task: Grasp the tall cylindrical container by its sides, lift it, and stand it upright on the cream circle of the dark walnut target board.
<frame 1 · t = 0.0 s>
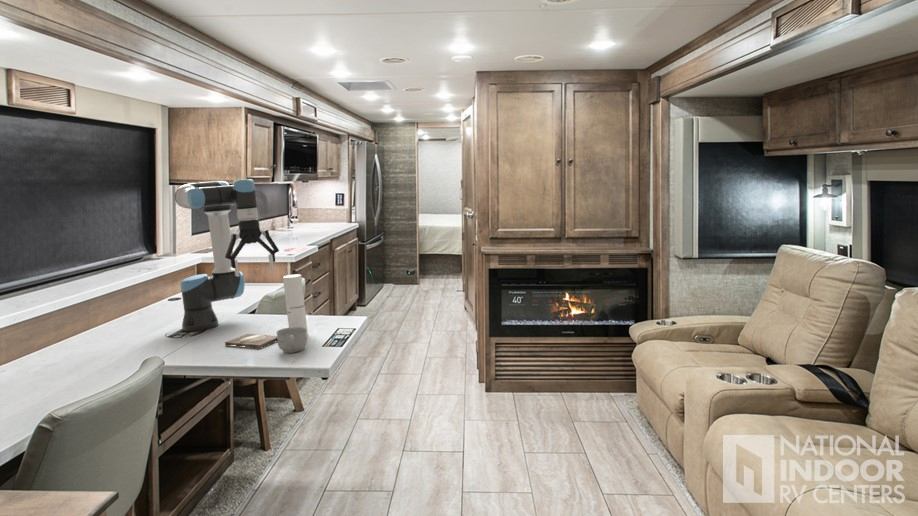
hand: (255, 273, 238), 28 cm above the table, fingers open, 13 cm apart
cylindrical container: (299, 336, 247), on the table
target board: (253, 342, 242), on the table
teacup: (293, 352, 226), on the table
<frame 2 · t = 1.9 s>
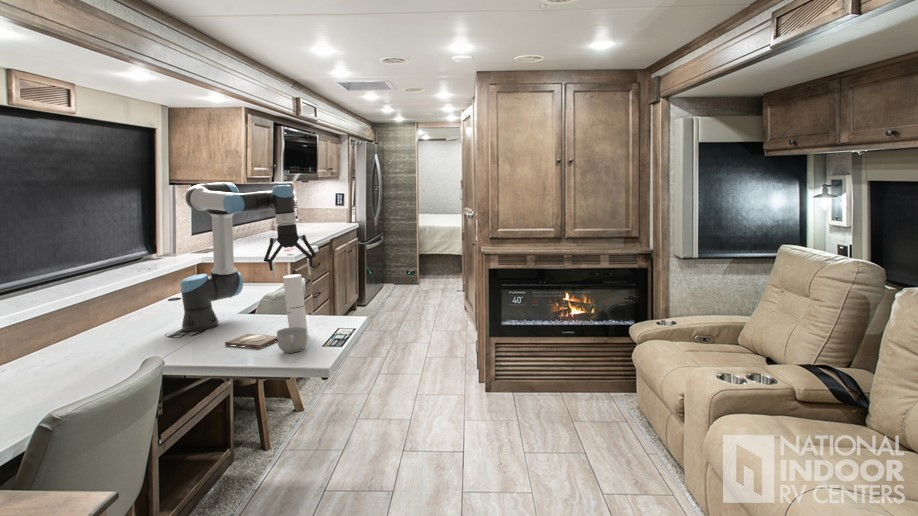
hand: (292, 276, 243), 25 cm above the table, fingers open, 13 cm apart
nothing on the table moved.
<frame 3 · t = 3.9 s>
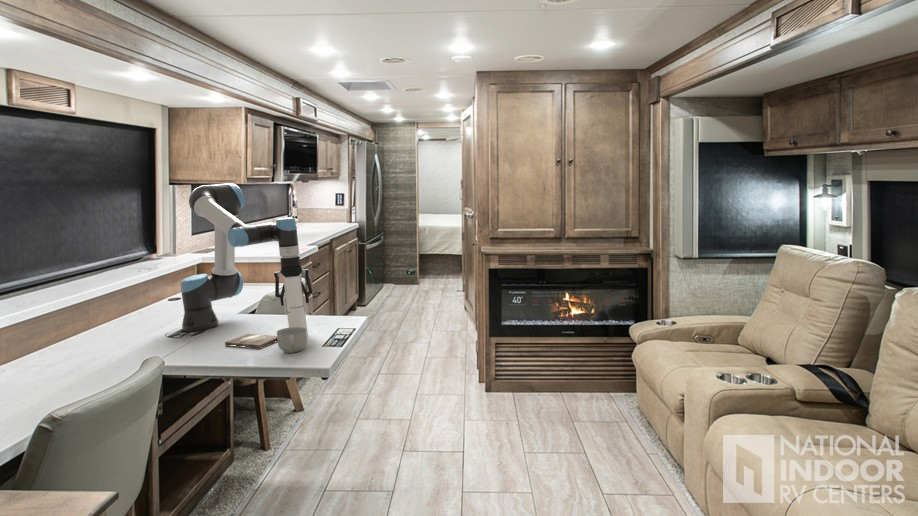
hand: (296, 312, 246), 10 cm above the table, fingers closed on cylindrical container, 7 cm apart
cylindrical container: (299, 336, 247), on the table, touching gripper
everything else where it was.
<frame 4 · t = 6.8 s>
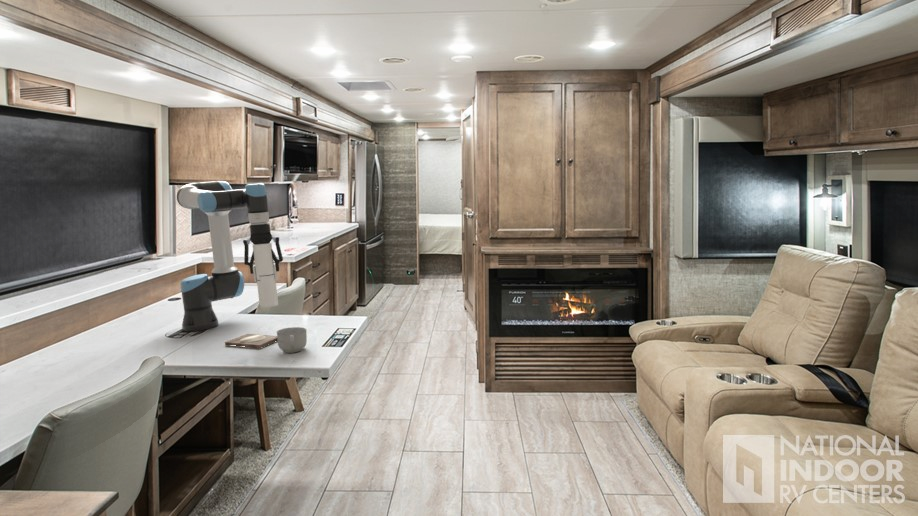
hand: (266, 280, 241), 24 cm above the table, fingers closed on cylindrical container, 7 cm apart
cylindrical container: (269, 305, 243), point 14 cm above the table, touching gripper
everything else where it was.
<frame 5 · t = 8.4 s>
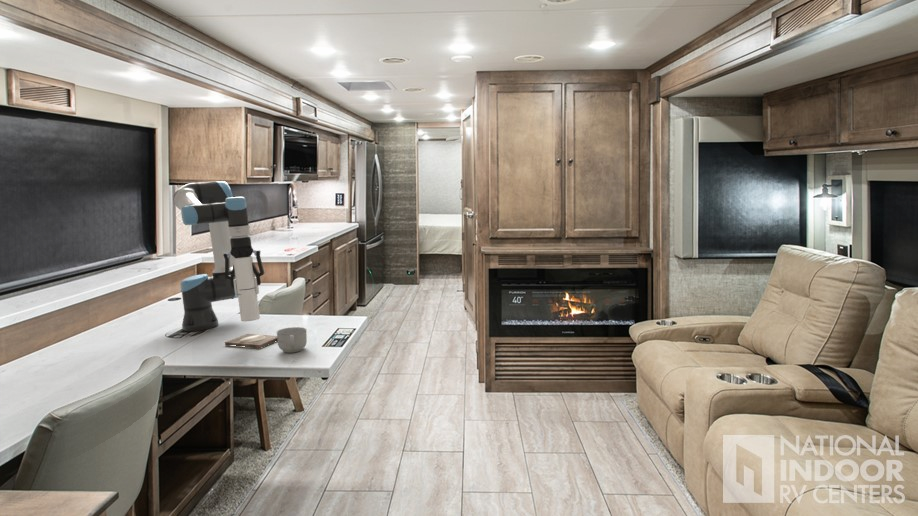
hand: (247, 294, 239), 20 cm above the table, fingers closed on cylindrical container, 7 cm apart
cylindrical container: (250, 319, 240), point 10 cm above the table, touching gripper
everything else where it was.
when the fingers open (13 cm above the table, at t = 10.0 s): cylindrical container drops 1 cm, resting on target board.
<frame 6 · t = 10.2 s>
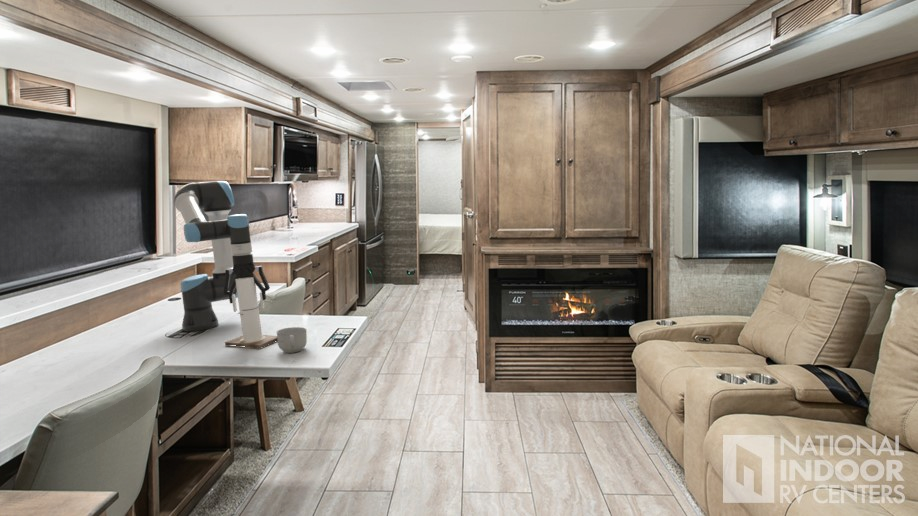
hand: (249, 309, 240), 14 cm above the table, fingers open, 10 cm apart
cylindrical container: (253, 339, 242), point 2 cm above the table, touching target board
everything else where it was.
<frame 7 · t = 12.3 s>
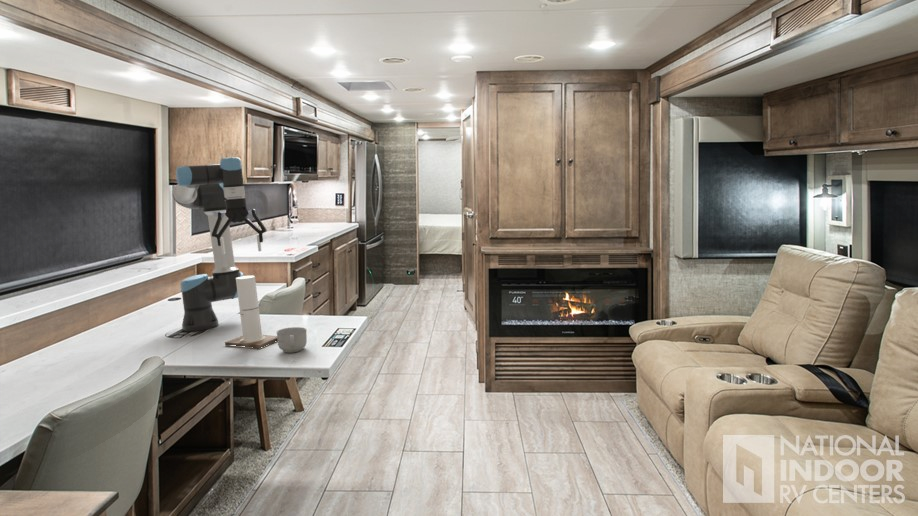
hand: (242, 252, 236), 37 cm above the table, fingers open, 13 cm apart
nothing on the table moved.
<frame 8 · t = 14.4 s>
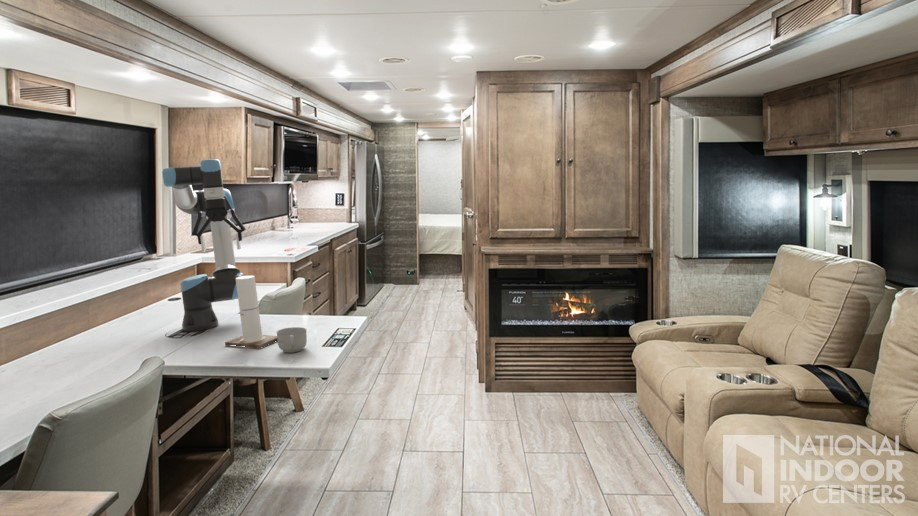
hand: (221, 250, 246), 37 cm above the table, fingers open, 13 cm apart
nothing on the table moved.
at the end: cylindrical container inside the target area on the target board (0.0 cm from its centre), point 1.5 cm above the target board's base; cylindrical container tilted 0°; the gripper is holding nothing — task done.
